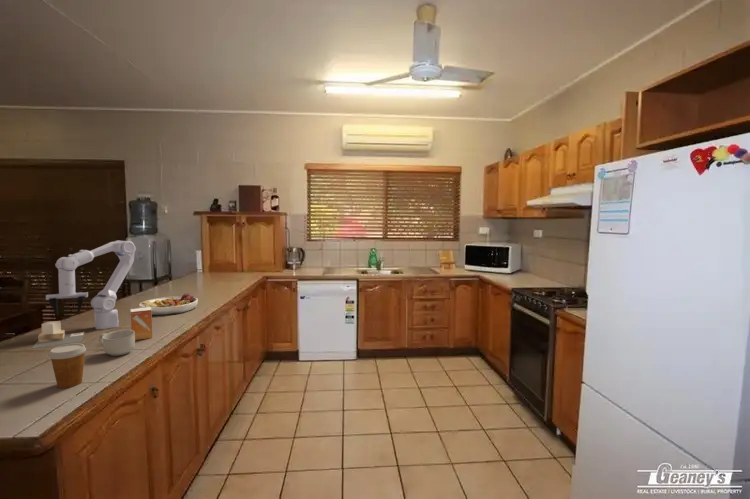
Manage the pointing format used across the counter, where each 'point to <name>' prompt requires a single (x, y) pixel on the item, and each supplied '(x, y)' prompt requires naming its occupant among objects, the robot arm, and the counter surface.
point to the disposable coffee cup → (68, 364)
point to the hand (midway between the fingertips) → (68, 314)
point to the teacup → (118, 342)
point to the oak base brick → (51, 337)
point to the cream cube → (51, 327)
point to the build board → (67, 339)
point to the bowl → (170, 304)
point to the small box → (141, 322)
